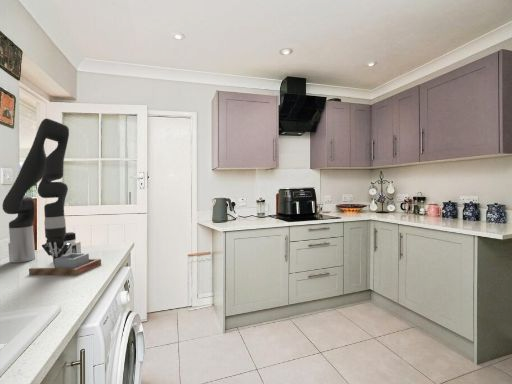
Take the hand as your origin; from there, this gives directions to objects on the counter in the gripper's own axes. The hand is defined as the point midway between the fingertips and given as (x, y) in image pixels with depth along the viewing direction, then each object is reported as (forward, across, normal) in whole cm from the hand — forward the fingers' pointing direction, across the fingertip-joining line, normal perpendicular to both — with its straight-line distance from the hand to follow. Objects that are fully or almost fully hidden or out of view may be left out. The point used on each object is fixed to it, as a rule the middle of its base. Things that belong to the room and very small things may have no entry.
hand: (57, 264), depth 120 cm
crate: (+2, +7, 0) cm, 8 cm away
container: (+2, -10, +17) cm, 20 cm away
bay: (+2, +4, 0) cm, 5 cm away
